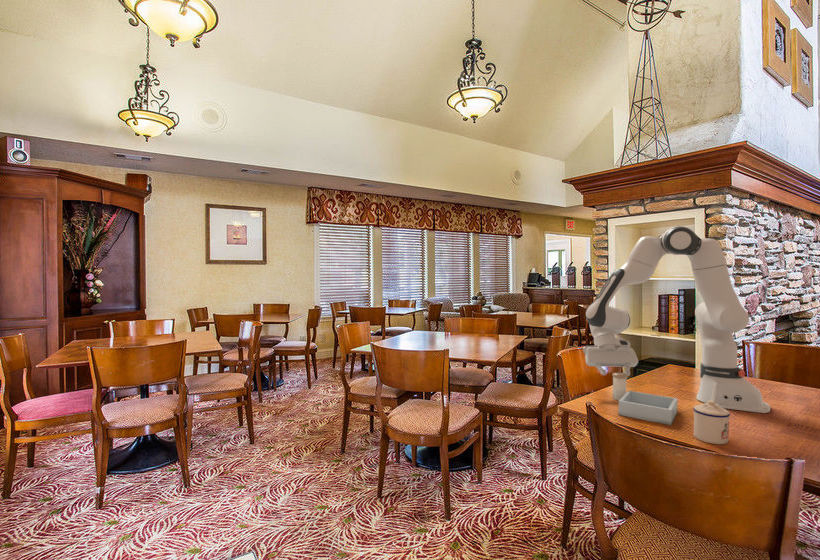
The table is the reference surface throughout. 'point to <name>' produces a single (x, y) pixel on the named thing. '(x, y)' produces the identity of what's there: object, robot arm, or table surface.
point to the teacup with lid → (711, 423)
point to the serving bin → (648, 407)
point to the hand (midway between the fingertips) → (616, 374)
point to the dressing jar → (619, 385)
